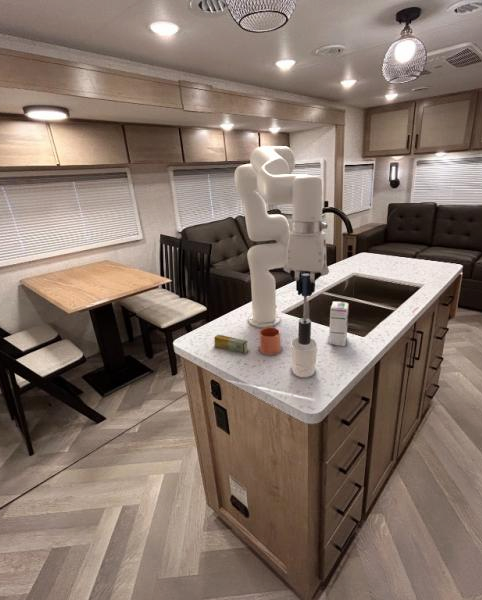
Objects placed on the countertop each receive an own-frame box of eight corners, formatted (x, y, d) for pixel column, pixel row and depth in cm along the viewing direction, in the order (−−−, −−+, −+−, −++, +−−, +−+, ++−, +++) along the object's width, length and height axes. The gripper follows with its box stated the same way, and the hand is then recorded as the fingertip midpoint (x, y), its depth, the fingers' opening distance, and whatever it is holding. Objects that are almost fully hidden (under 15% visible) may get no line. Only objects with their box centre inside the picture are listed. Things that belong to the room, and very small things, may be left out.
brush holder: (264, 343, 115) (263, 325, 112) (283, 346, 113) (283, 328, 110) (256, 353, 109) (256, 335, 106) (276, 357, 106) (276, 338, 104)
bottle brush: (300, 338, 97) (301, 272, 89) (311, 339, 96) (313, 273, 88) (296, 343, 94) (297, 276, 86) (308, 345, 93) (310, 277, 85)
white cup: (314, 363, 103) (315, 336, 99) (318, 379, 95) (319, 350, 91) (289, 364, 102) (289, 337, 98) (291, 379, 95) (292, 351, 91)
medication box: (248, 351, 110) (248, 340, 109) (244, 354, 108) (244, 343, 107) (218, 343, 115) (217, 333, 113) (213, 347, 112) (213, 336, 111)
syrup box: (345, 346, 112) (348, 308, 106) (328, 344, 114) (330, 307, 108) (346, 338, 117) (349, 302, 111) (330, 336, 119) (332, 300, 113)
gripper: (340, 226, 83) (336, 292, 90) (281, 223, 88) (282, 286, 95) (335, 231, 76) (331, 302, 83) (272, 228, 81) (273, 295, 89)
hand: (305, 293), depth 89 cm, fingers closed on bottle brush, 2 cm apart
